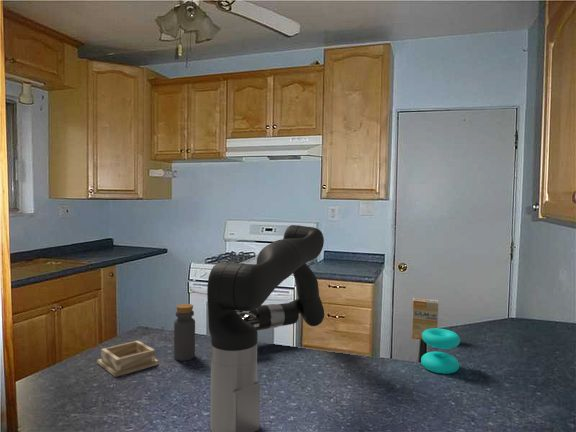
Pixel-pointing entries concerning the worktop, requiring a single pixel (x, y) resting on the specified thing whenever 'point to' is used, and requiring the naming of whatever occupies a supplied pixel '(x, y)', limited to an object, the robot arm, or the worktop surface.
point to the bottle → (184, 333)
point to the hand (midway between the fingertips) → (218, 323)
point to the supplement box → (423, 316)
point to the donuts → (440, 360)
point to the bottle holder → (127, 358)
